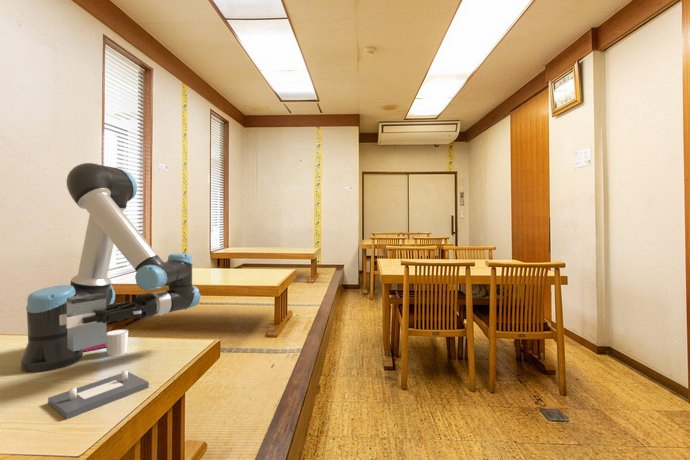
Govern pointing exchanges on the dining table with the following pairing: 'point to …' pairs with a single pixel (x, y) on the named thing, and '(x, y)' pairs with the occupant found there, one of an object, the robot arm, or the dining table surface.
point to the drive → (90, 332)
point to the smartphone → (95, 347)
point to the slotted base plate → (96, 394)
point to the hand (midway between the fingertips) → (63, 321)
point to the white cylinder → (117, 342)
